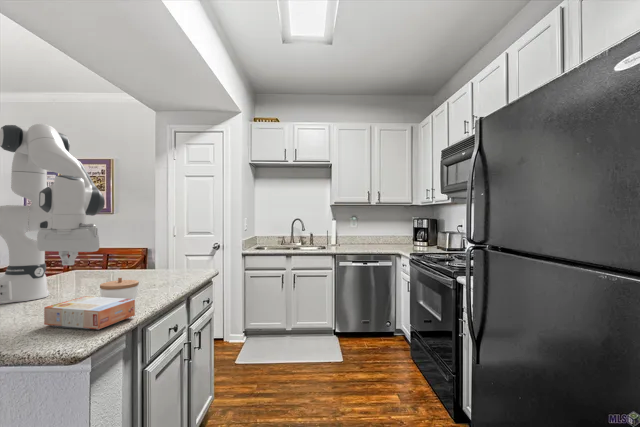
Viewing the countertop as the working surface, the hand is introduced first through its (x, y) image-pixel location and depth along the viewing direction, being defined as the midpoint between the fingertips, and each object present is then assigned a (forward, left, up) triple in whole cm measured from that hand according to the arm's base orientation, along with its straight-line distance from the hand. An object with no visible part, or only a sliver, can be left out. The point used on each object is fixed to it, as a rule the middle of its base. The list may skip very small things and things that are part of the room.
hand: (68, 265), depth 105 cm
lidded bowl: (+5, +17, -18) cm, 26 cm away
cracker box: (-1, 0, -15) cm, 15 cm away
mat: (+9, 0, -18) cm, 20 cm away
